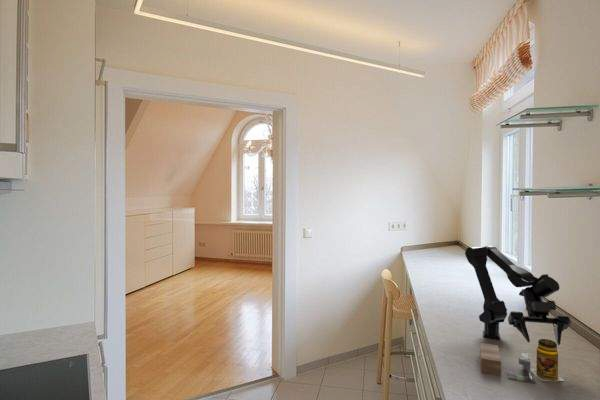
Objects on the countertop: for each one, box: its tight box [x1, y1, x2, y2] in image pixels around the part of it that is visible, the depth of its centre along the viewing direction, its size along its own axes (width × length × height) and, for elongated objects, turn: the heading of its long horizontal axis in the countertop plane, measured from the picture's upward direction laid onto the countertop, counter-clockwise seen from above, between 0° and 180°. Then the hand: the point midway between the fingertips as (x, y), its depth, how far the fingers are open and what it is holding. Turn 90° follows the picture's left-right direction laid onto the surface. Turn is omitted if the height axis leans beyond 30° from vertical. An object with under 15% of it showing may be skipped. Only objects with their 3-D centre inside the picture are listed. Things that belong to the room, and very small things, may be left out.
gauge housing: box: [479, 342, 537, 384], centre depth 131 cm, size 15×16×5 cm
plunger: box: [518, 352, 533, 380], centre depth 128 cm, size 11×3×4 cm, turn 156°
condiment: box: [530, 338, 565, 382], centre depth 127 cm, size 7×8×12 cm
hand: (543, 343), depth 129 cm, fingers open, 9 cm apart
